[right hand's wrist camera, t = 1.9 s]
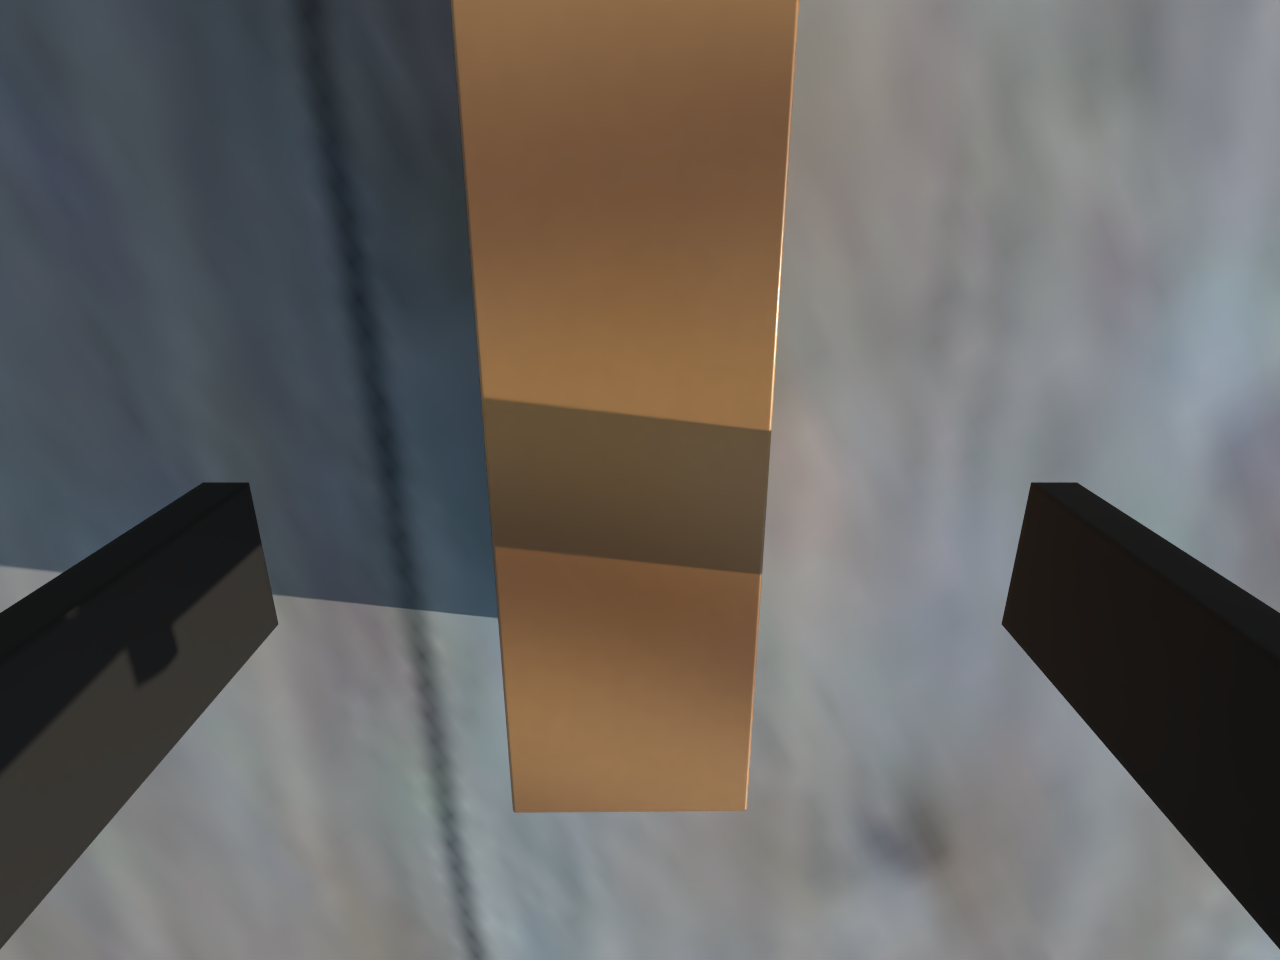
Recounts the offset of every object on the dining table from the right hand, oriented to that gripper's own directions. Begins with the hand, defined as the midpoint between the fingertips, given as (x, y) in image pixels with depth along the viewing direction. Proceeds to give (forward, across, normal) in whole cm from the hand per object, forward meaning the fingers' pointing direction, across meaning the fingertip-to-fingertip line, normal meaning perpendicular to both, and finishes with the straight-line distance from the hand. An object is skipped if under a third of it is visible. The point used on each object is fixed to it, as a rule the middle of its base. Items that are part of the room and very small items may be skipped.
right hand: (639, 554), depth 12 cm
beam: (+9, 0, -21) cm, 23 cm away
